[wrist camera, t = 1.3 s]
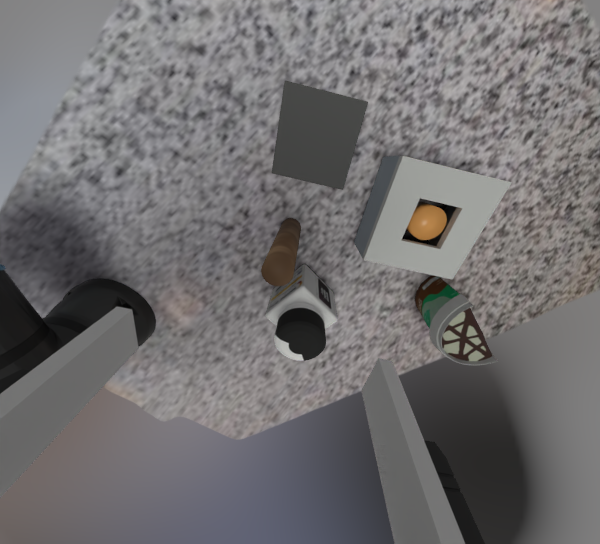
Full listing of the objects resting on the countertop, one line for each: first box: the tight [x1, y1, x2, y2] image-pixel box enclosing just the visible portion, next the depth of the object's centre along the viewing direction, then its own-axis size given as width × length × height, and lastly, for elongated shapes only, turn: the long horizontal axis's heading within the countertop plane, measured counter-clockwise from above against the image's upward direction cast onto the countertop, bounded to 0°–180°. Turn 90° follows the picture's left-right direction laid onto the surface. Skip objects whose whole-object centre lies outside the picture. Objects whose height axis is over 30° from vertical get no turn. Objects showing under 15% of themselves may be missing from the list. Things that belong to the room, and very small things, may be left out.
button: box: [406, 202, 447, 240], centre depth 27 cm, size 4×4×3 cm
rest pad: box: [272, 81, 368, 190], centre depth 28 cm, size 10×10×1 cm
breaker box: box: [354, 156, 511, 279], centre depth 29 cm, size 12×12×7 cm
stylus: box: [261, 218, 301, 286], centre depth 27 cm, size 3×3×15 cm
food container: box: [415, 275, 498, 365], centre depth 34 cm, size 12×6×10 cm, turn 36°
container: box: [266, 264, 338, 361], centre depth 33 cm, size 8×8×13 cm
